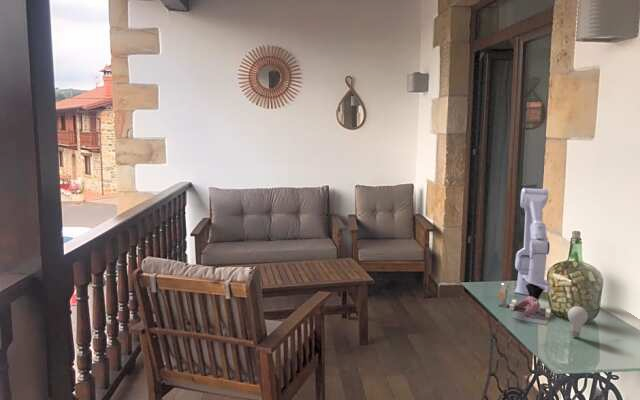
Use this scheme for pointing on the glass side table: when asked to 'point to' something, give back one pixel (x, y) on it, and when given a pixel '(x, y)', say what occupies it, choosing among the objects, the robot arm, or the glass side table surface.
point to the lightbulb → (577, 319)
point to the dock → (504, 304)
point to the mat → (530, 318)
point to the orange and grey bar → (503, 289)
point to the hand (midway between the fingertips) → (533, 303)
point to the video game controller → (529, 305)
